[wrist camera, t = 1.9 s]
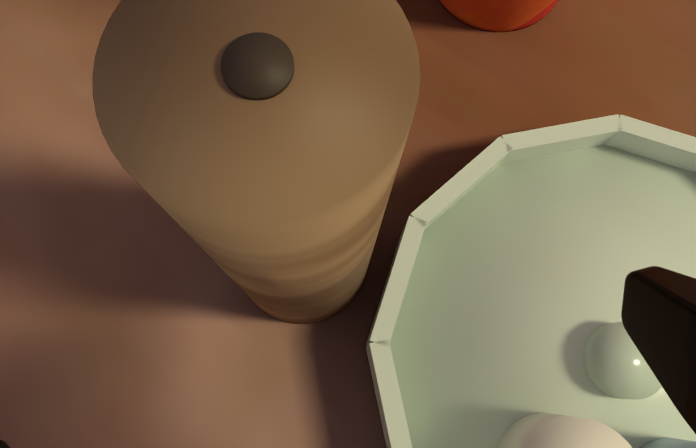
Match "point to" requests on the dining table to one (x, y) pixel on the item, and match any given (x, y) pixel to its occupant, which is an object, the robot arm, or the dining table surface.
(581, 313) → the green tray
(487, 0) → the paper cup
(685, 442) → the blue-grey rounded piece
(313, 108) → the pepper grinder
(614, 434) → the cream round bead
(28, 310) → the dining table surface
